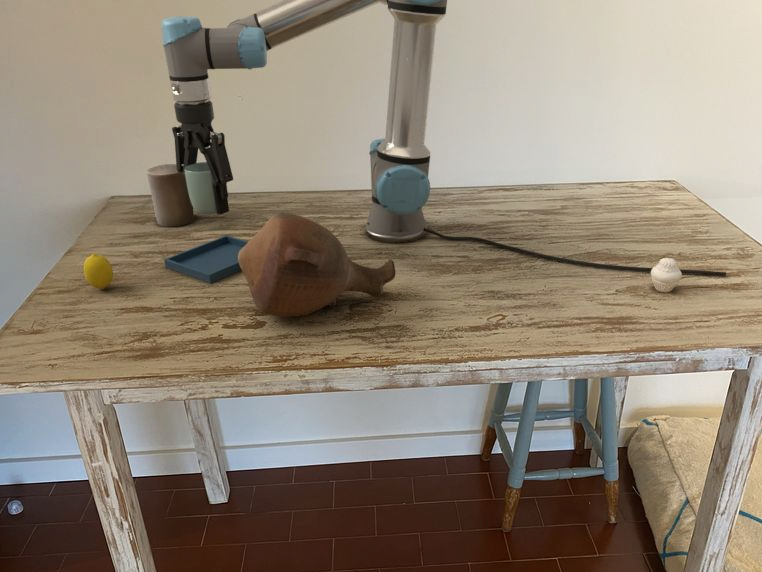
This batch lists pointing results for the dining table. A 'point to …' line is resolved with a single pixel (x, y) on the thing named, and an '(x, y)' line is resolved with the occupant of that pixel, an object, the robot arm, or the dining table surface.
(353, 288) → the jug
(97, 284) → the lemon
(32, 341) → the dining table surface
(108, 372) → the dining table surface
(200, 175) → the cup
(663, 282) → the muffin
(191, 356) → the dining table surface
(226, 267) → the tray
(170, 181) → the pillar candle
